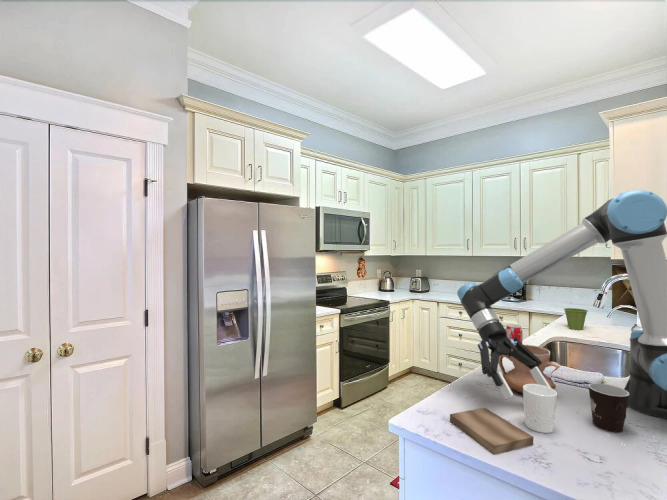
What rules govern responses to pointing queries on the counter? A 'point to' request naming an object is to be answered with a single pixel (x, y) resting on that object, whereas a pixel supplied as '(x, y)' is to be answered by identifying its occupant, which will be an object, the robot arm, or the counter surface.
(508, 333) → the soda can
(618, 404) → the coffee mug
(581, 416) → the counter surface
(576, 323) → the plant pot
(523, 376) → the ceramic jug
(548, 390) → the white cup
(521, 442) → the walnut board
